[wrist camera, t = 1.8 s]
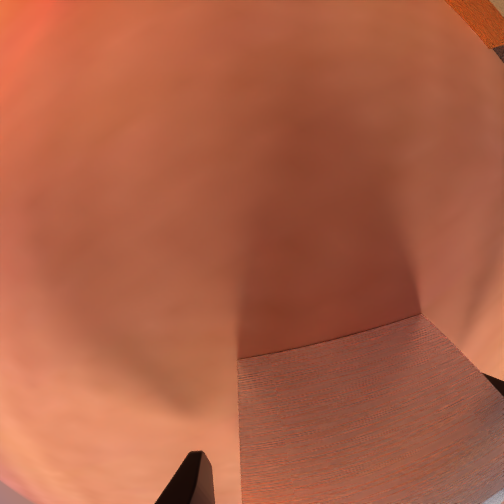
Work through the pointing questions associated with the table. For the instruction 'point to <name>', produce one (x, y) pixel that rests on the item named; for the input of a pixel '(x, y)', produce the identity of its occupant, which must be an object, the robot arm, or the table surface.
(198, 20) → the table surface
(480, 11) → the ratchet
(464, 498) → the white metal cube
